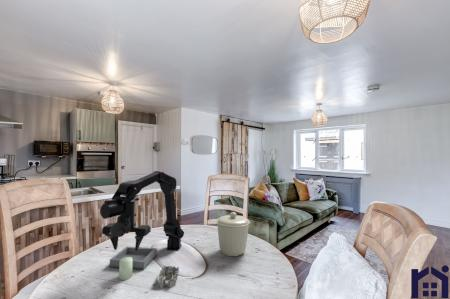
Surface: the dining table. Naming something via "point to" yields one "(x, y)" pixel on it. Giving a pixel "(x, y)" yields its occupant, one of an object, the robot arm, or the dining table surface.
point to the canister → (232, 234)
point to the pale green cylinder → (125, 268)
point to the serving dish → (135, 257)
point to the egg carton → (168, 276)
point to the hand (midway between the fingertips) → (126, 250)
